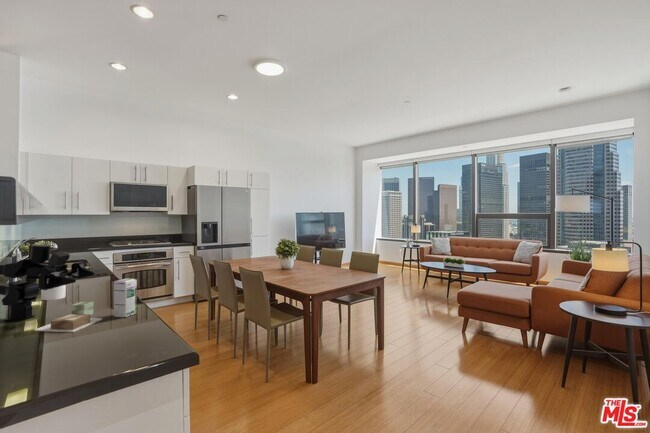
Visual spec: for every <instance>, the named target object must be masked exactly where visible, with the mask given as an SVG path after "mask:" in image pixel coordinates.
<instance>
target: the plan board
mask: <svg viewBox="0 0 650 433" xmlns="http://www.w3.org/2000/svg"><path fill="white" fill-rule="evenodd" d="M91 316H92V315H91V314H72V313H69V314H64V315H62V316H59V317H57V318H54V319H52V320H50V323H49V324H46V325H43V326H41V327H38V328H35V329H34V330H33V332H54V333H55V332H56V333H57V332H58V333H74V332H75V333H76V332H77V331H80V330H81V329H84V328H86V327H88V326H91V325H93V324H95V323H98V322H100V321H102V320H103V317H102V318H98V317H96V318H95V317H91Z"/></svg>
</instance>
